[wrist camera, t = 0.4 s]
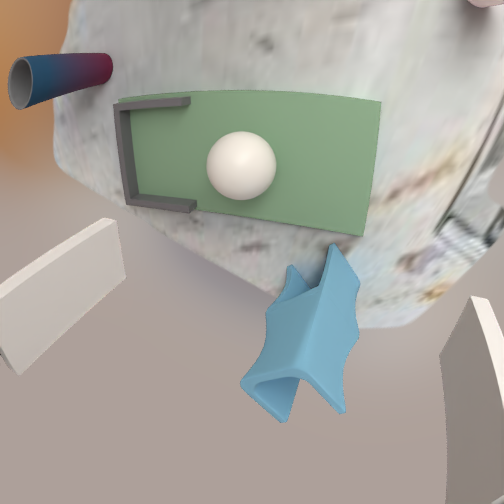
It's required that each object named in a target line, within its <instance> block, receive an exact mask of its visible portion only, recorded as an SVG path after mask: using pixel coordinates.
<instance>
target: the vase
mask: <svg viewBox="0 0 504 504" xmlns="http://www.w3.org/2000/svg"><path fill="white" fill-rule="evenodd" d="M359 287H360V281H359V279H358V277H357V276H356V274H355V273H354V271H353V270H352V268H351V267H350V265H349V264H348V262H347V261H346V259H345V258H344V256H343V255H342V253H341V252H340V250H339V249H338V247H337V246H336V244H335V243H333V244H331V245H329V250H328V255H327V260H326V264H325V268H324V272H323V275H322V278H321V281H320V283H319V286H317V287H315V288H312V289H310V288H309V286H308V285H307V284H306V282H305V281H304V280H303V278H302V277H301V276H300V274H299V273H298V272H297V270H296V269H295V268H294V267H293V265H290V266H288V267H287V280H286V284H285V287H284V289H283V291H282V293H281V294H280V295H279V297H278V298H277V299H276V300H275V301H274V302H273V304H272V305H271V306H270V307H269V308H268V309H267V311H266V329H267V330H266V340H265V344H264V347H263V349H262V351H261V354H260V356H259V357H258V359H257V360H256V362H255V363H254V365H253V366H252V367H251V369H250V370H249V371H248V372H247V373H246V375H245V376H244V377H243V378H242V380H241V381H240V385H241V387H242V389H243V390H244V391H245V392H246V393H247V394H248V395H249V396H250V397H251V398H253V399H254V400H255V401H256V402H257V403H258V404H259V405H260V406H262V407H263V408H264V409H265V410H266V411H267V412H268V413H270V414H271V415H272V416H273V417H274V418H275V419H277V420H278V421H279V422H280V423H283V422H287V420H288V417H289V414H290V411H291V407H292V404H293V400H294V397H295V394H296V390H297V387H298V383H299V380H300V379H303V380H306V381H307V382H309V383H310V384H311V385H312V386H313V387H314V388H315V389H316V391H317V392H318V393H319V394H320V395H321V396H322V397H323V398H324V399H325V400H326V401H327V402H328V403H329V404H330V405H331V406H332V407H333V408H334V409H335V410H336V411H337V412H338V413H339V414H342V413H345V412H346V408H345V401H344V393H343V368H344V364H345V361H346V358H347V356H348V354H349V352H350V350H351V348H352V347H353V346H354V344H355V343H356V341H357V340H358V338H359V329H358V324H357V320H356V313H355V301H356V296H357V292H358V290H359Z"/></svg>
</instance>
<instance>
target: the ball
mask: <svg viewBox="0 0 504 504" xmlns="http://www.w3.org/2000/svg"><path fill="white" fill-rule="evenodd" d="M206 169H207V175H208V178H209V180H210V182H211V184H212V185H213V187H214V188H215V189H216V190H217V191H218V192H219V193H221V194H222V195H224V196H226V197H228V198H231V199H235V200H248V199H252V198H255V197H257V196H259V195H260V194H262V193H263V192H264V191H266V190H267V189H268V187H269V186H270V185H271V183H272V181H273V179H274V177H275V173H276V158H275V154H274V152H273V150H272V148H271V146H270V145H269V144H268V143H267V142H266V141H265V140H264V139H263V138H262V137H260V136H258V135H256V134H254V133H251V132H245V131H238V132H233V133H229V134H227V135H225V136H223V137H222V138H220V139H219V140H218V141H217V142H216V143H215V144H214V145H213V146H212V148H211V150H210V152H209V154H208V157H207V163H206Z"/></svg>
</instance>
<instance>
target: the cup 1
mask: <svg viewBox="0 0 504 504" xmlns="http://www.w3.org/2000/svg"><path fill="white" fill-rule="evenodd" d="M112 70H113V63H112V60H111V58H110V56H109V55H107V54H105V53H71V54H51V55H37V56H27V57H20V58H18V59H17V60H16V61H15V62H14V63H13V65H12V67H11V69H10V72H9V77H8V93H9V97H10V101H11V103H12V104H13V106H14V107H15V108H16V109H18V110H21V109H24V108H27V107H29V106H32V105H35V104H37V103H40V102H43V101H46V100H49V99H52V98H55V97H58V96H61V95H64V94H67V93H71V92H74V91H77V90H81V89H84V88H88V87H92V86H95V85H99V84H103V83H105V82H106V81H108V79H109V78H110V76H111V74H112Z"/></svg>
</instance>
